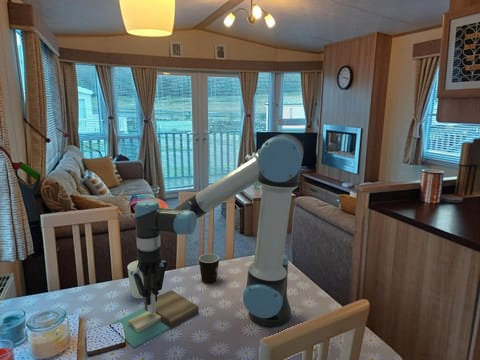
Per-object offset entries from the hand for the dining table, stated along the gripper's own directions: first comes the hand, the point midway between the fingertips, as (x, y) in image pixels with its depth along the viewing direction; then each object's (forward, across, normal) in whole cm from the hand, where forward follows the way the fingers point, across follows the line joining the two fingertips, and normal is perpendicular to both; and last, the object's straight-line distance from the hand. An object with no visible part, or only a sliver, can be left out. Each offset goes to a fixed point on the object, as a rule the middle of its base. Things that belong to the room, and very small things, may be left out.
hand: (151, 311), depth 116 cm
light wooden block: (+3, +3, 0) cm, 4 cm away
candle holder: (+4, -7, -18) cm, 20 cm away
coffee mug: (+4, -34, -7) cm, 35 cm away
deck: (+3, -8, 0) cm, 9 cm away
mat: (+3, +5, 0) cm, 6 cm away
